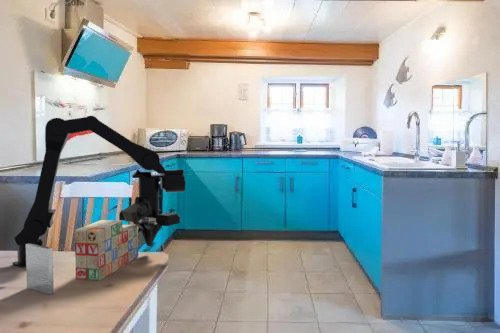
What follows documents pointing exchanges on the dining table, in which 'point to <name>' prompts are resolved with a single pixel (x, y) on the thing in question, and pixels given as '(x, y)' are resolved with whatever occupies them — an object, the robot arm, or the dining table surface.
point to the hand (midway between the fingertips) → (149, 245)
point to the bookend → (39, 268)
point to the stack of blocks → (104, 248)
